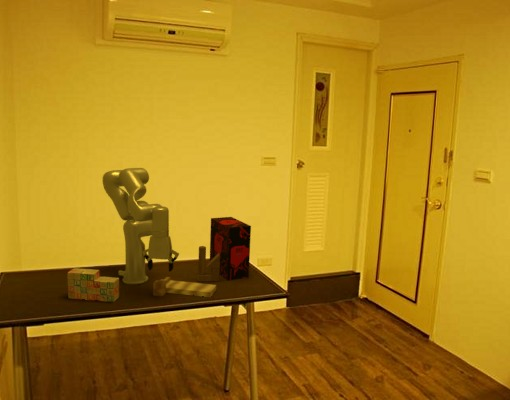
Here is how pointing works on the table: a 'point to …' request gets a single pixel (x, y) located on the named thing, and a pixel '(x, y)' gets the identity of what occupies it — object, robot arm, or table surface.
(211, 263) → the brown angled bracket
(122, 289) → the table surface
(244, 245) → the box
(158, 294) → the gauge
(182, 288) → the board
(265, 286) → the table surface
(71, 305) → the table surface
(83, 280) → the stack of blocks
